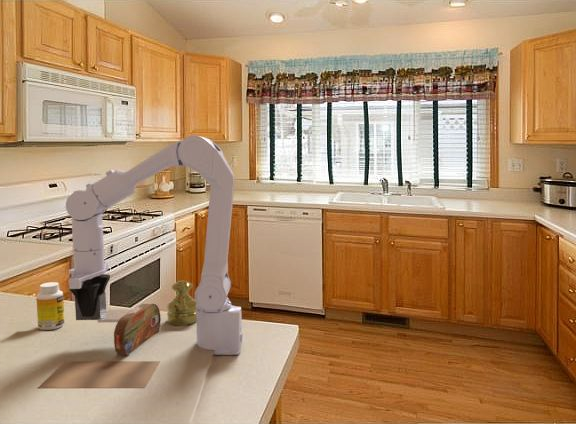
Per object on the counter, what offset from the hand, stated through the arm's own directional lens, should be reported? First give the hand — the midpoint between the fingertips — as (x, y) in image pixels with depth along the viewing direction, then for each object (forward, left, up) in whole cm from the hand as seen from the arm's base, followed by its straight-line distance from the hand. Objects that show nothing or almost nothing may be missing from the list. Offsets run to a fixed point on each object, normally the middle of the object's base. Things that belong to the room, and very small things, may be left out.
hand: (91, 312), depth 95 cm
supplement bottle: (+15, -12, -8) cm, 20 cm away
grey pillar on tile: (-2, 0, -1) cm, 3 cm away
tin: (-9, 0, -8) cm, 12 cm away
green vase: (-15, -16, -8) cm, 23 cm away
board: (-7, +14, -8) cm, 18 cm away
